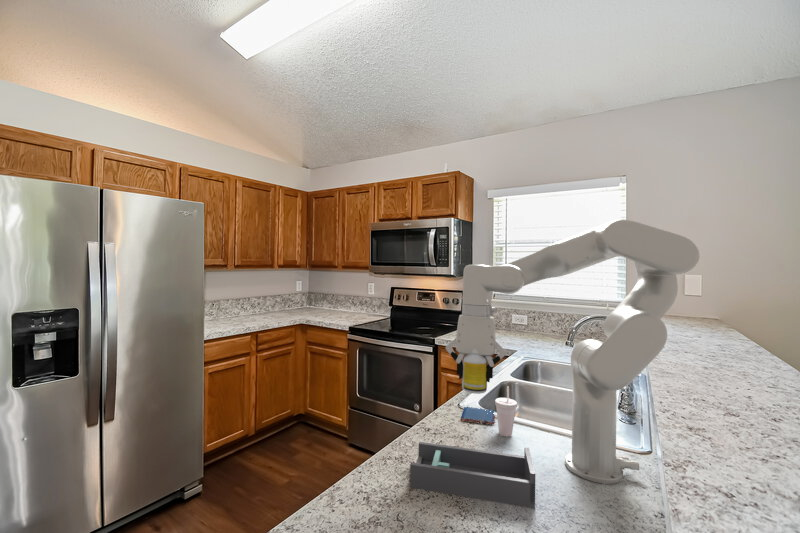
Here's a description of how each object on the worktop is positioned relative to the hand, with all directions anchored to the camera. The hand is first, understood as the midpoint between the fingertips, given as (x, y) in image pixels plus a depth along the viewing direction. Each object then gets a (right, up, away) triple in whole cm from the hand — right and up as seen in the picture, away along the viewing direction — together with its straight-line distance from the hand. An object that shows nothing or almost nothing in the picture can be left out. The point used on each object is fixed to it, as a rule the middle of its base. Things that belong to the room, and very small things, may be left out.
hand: (474, 378), depth 93 cm
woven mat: (+6, -21, +24) cm, 32 cm away
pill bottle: (0, -3, 0) cm, 3 cm away
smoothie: (+12, -21, +12) cm, 27 cm away
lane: (-4, -20, -13) cm, 24 cm away
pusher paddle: (-10, -18, -11) cm, 24 cm away
